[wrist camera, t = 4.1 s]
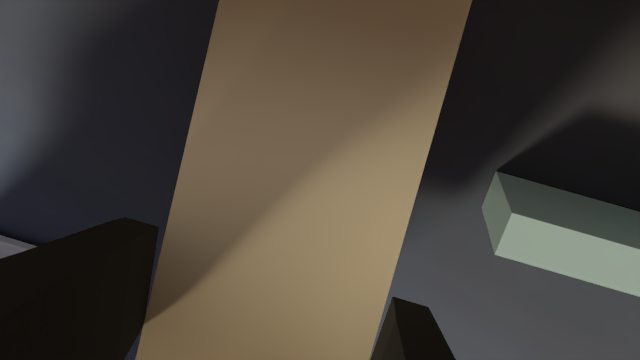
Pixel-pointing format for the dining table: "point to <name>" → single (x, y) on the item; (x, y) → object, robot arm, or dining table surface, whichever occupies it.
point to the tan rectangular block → (299, 177)
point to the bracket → (564, 232)
